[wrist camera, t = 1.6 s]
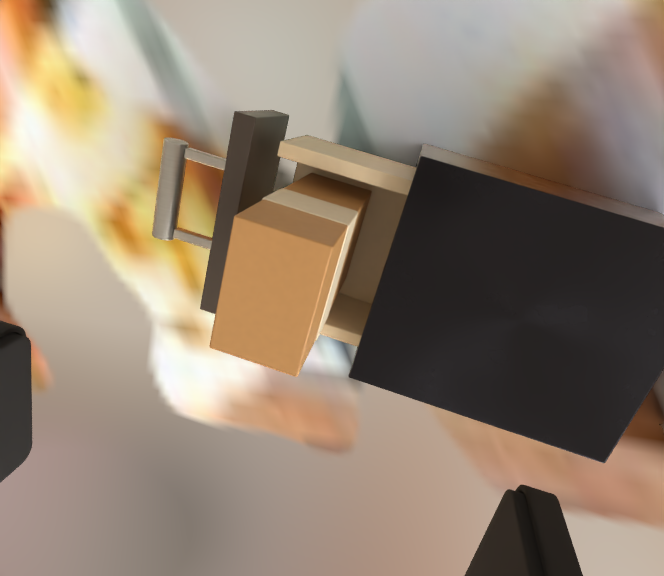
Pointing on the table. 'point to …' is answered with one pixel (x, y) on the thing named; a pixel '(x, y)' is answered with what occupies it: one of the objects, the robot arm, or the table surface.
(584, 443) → the cabinet
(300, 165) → the drawer
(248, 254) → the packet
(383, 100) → the table surface
